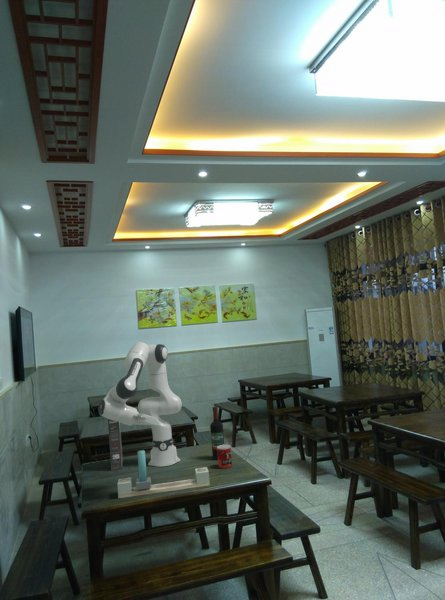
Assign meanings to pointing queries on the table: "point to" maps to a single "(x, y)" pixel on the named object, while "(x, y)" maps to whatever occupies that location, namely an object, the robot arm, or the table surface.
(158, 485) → the rail board
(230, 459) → the canned food
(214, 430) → the wine bottle
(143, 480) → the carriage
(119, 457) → the cake mix box
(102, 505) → the table surface
